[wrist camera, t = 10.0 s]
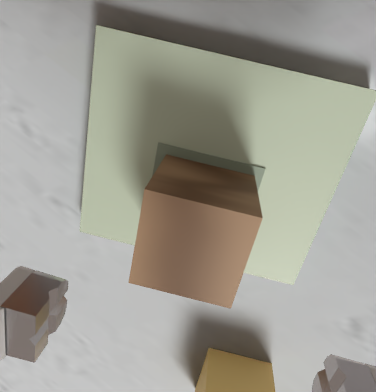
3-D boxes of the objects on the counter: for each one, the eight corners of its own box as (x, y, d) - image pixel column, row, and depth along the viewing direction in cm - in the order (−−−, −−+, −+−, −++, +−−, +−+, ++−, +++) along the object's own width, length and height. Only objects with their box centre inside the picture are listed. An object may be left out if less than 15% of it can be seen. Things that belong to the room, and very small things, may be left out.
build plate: (369, 88, 17) (380, 91, 15) (290, 273, 22) (293, 286, 20) (104, 26, 17) (95, 25, 16) (87, 222, 22) (79, 232, 21)
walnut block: (254, 175, 18) (262, 218, 13) (230, 250, 20) (230, 308, 15) (166, 154, 18) (144, 189, 13) (151, 230, 20) (128, 282, 16)
